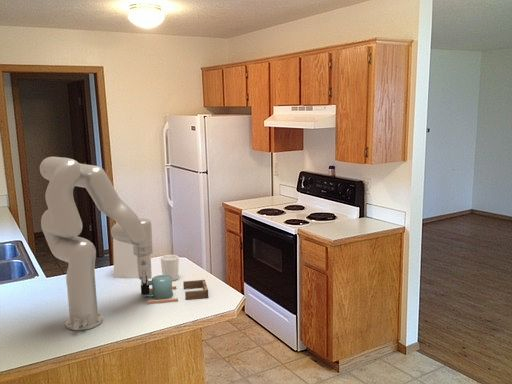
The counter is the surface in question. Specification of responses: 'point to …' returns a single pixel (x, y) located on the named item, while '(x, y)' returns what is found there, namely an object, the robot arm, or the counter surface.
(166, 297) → the jug
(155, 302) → the strips
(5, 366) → the counter surface
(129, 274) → the milk
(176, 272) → the white cup
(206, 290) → the brown wooden frame
